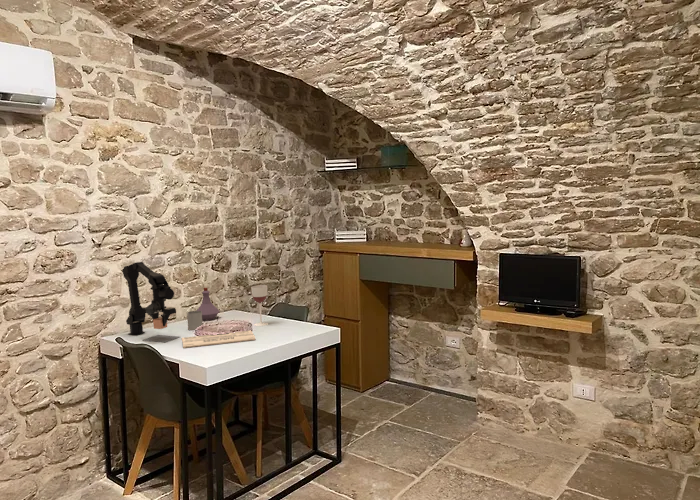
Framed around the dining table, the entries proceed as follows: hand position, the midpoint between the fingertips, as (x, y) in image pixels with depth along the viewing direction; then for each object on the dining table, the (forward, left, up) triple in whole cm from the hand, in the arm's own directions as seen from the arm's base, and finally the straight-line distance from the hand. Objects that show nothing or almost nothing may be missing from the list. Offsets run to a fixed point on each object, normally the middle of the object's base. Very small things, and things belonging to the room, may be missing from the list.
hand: (160, 325), depth 304 cm
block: (0, 0, -1) cm, 1 cm away
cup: (+3, +25, -7) cm, 26 cm away
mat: (0, 0, -7) cm, 7 cm away
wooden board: (+35, +5, -8) cm, 36 cm away
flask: (-8, +50, -7) cm, 51 cm away
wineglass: (+35, +46, -7) cm, 58 cm away
